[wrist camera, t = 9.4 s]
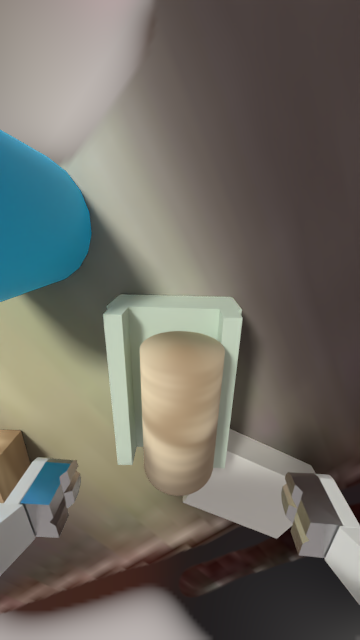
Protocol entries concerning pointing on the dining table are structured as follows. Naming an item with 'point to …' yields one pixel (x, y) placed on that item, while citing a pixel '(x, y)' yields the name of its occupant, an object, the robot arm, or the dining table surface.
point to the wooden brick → (11, 461)
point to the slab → (249, 486)
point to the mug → (38, 220)
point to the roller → (180, 408)
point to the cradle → (153, 318)
